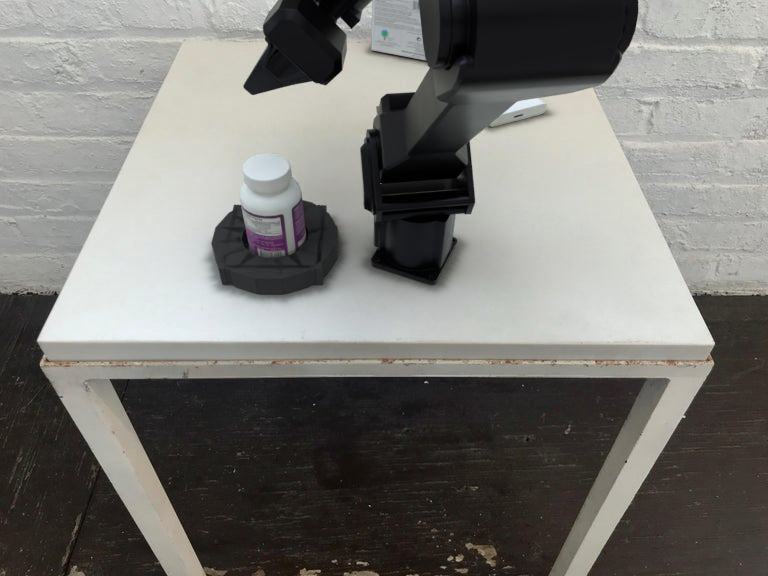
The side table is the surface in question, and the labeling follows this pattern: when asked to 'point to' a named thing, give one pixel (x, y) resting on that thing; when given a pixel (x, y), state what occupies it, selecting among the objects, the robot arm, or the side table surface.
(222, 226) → the pad
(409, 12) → the ink cartridge box
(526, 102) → the hard drive
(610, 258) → the side table surface
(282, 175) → the pill bottle
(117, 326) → the side table surface
